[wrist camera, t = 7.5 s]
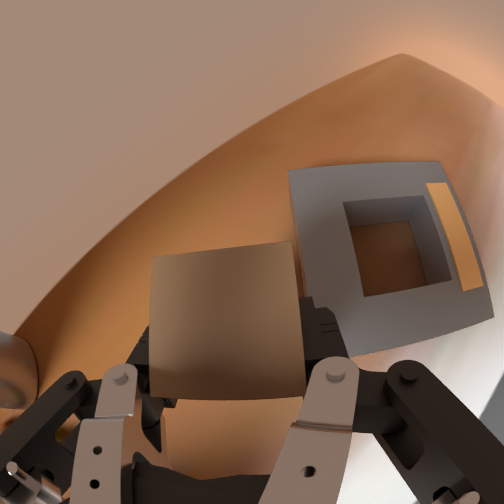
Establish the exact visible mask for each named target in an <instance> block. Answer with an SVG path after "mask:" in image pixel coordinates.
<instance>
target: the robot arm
mask: <svg viewBox="0 0 504 504" xmlns="http://www.w3.org/2000/svg"><path fill="white" fill-rule="evenodd" d="M298 300H299V309H300V319H301V329H302V339H303V350H304V362H305V374H306V388H307V391H306V394H305V396H303V404H302V407H301V410H300V413H299V416H298V419H297V421H296V422H293V423H292V424H291V426H290V428H289V431H288V433H287V436H286V438H285V441H284V444H283V446H282V449H281V451H280V454H279V457H278V459H277V462H276V464H275V466H274V469H273V471H272V474H271V475H236V476H230V477H223V478H216V479H208V480H197V479H194V478H192V477H189V476H186V475H183V474H181V473H178V472H176V471H173V470H172V468H171V465H170V463H169V461H168V457H167V446H166V430H165V418H164V416H163V414H162V411H163V409H164V407H166V408H175V406H176V403H177V400H178V399H174V398H161V397H151V396H150V379H149V326H148V327H147V328H146V329H145V331H144V333H143V334H142V336H141V338H140V339H139V341H138V342H139V343H137V344H136V346H135V348H134V349H133V351H132V353H131V355H130V356H129V358H128V360H127V361H126V363H125V364H119V365H116V366H114V367H112V368H110V369H109V370H108V371H107V372H106V373H105V374H104V376H103V379H99V380H91V381H88V380H87V378H86V377H85V375H84V374H83V373H82V372H80V371H70V372H67V373H65V374H64V375H63V376H61V377H60V378H59V379H58V380H57V381H56V382H55V383H54V384H53V385H52V386H51V387H49V388H48V389H47V390H46V391H45V392H44V393H43V394H42V395H41V396H40V397H39V398H38V399H37V400H36V401H35V399H36V395H37V389H38V375H37V367H36V362H35V358H34V355H33V352H32V350H31V348H30V346H29V344H28V343H27V342H26V341H25V340H24V339H22V338H20V337H16V336H13V335H10V334H7V333H4V332H0V408H7V409H24V410H25V411H24V412H23V413H22V414H21V415H20V416H19V417H18V418H17V419H16V420H15V421H14V422H13V423H12V424H11V425H10V426H9V427H8V428H7V429H6V430H5V431H4V432H3V433H2V434H1V435H0V497H1V498H2V499H3V501H4V502H5V504H336V502H337V499H338V495H339V491H340V488H341V484H342V480H343V476H344V471H345V467H346V462H347V458H348V453H349V448H350V443H351V437H352V432H358V433H373V435H374V437H375V438H376V440H377V441H378V443H379V444H380V445H381V447H382V448H383V450H384V451H385V453H386V454H387V456H388V457H389V459H390V460H391V462H392V463H393V464H394V466H395V467H396V469H397V470H398V472H399V473H400V475H401V476H402V478H403V479H404V481H405V482H406V483H407V485H408V486H409V488H410V489H411V491H412V492H413V494H414V495H415V497H416V498H417V499H418V501H419V502H420V504H504V446H503V445H502V444H501V442H500V441H499V440H498V439H497V438H496V437H495V436H494V435H493V434H492V433H491V432H490V431H489V430H488V429H487V428H486V427H485V425H483V424H482V422H481V421H480V420H479V419H478V418H477V417H476V416H475V415H474V414H473V413H472V412H471V411H470V410H469V409H468V408H467V407H466V406H465V405H464V404H463V403H462V402H461V401H460V400H459V399H458V398H457V397H456V396H455V395H454V394H453V393H452V392H451V391H450V390H449V389H448V388H447V387H446V386H445V385H444V384H443V383H442V382H441V381H440V380H439V379H438V378H437V377H436V376H435V375H434V374H433V373H432V372H431V371H430V370H429V369H428V368H426V367H425V366H424V365H423V364H421V363H419V362H417V361H413V360H402V361H399V362H396V363H395V364H393V365H392V366H391V367H390V368H389V369H388V371H387V372H371V371H366V370H362V369H360V368H358V366H357V365H356V364H355V363H354V362H353V361H352V360H350V358H349V356H348V352H347V349H346V346H345V343H344V340H343V337H342V334H341V332H340V329H339V326H338V324H337V320H336V317H335V314H334V313H333V312H332V311H331V310H329V309H328V308H327V307H322V308H315V306H314V302H313V298H312V296H309V297H300V298H298ZM73 413H74V414H75V415H76V417H77V418H78V419H79V420H80V421H81V422H80V423H79V424H78V425H77V426H76V427H75V428H74V430H73V431H72V432H71V433H70V434H69V435H68V436H67V437H66V438H65V439H64V440H63V441H62V442H57V441H56V439H55V432H56V431H57V429H58V428H59V427H60V426H61V425H62V424H63V423H64V422H65V421H66V420H67V419H68V418H69V417H70V416H71V415H72V414H73ZM70 486H71V492H70V498H68V499H66V500H65V499H64V498H63V497H62V496H63V494H64V493H65V492H66V491H67V490H68V488H69V487H70Z"/></svg>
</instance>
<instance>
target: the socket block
mask: <svg viewBox="0 0 504 504" xmlns="http://www.w3.org/2000/svg"><path fill="white" fill-rule="evenodd" d="M288 178H289V192H290V202H291V208H292V214H293V221H294V227H295V233H296V240H297V247H298V254H299V261H300V268H301V275H302V283H303V291H304V297H309V296H312V298H313V302H314V306H315V308H322V307H327V308H328V309H329V310H331V311H332V312H333V313H334V314H335V317H336V320H337V324H338V326H339V329H340V332H341V334H342V337H343V340H344V343H345V346H346V349H347V352H348V356H349V357H353V356H359V355H364V354H369V353H374V352H379V351H384V350H388V349H393V348H397V347H401V346H405V345H409V344H413V343H417V342H421V341H424V340H428V339H431V338H435V337H438V336H442V335H445V334H448V333H451V332H454V331H457V330H461V329H463V328H466V327H469V326H472V325H475V324H478V323H480V322H483V321H486V320H488V319H491V318H493V317H494V312H493V307H492V302H491V298H490V293H489V289H488V285H487V281H486V277H485V274H484V270H483V267H482V263H481V260H480V257H479V253H478V250H477V247H476V244H475V241H474V239H473V236H472V233H471V230H470V228H469V225H468V222H467V220H466V217H465V215H464V213H463V210H462V208H461V205H460V203H459V201H458V199H457V196H456V194H455V192H454V190H453V188H452V186H451V184H450V182H449V180H448V178H447V176H446V174H445V172H444V170H443V168H442V166H441V164H440V162H436V161H421V162H382V163H363V164H348V165H335V166H323V167H313V168H303V169H294V170H288ZM399 221H409V224H410V227H411V230H412V233H413V236H414V240H415V243H416V246H417V249H418V253H419V256H420V260H421V264H422V267H423V271H424V275H425V279H426V283H427V286H423V287H418V288H413V289H408V290H402V291H397V292H392V293H386V294H380V295H374V296H368V297H364V294H363V289H362V283H361V278H360V273H359V268H358V264H357V259H356V254H355V250H354V246H353V241H352V237H351V233H350V229H349V227H354V226H363V225H372V224H381V223H390V222H399Z"/></svg>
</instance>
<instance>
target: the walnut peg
mask: <svg viewBox="0 0 504 504" xmlns="http://www.w3.org/2000/svg"><path fill="white" fill-rule="evenodd" d="M149 379H150V396H151V397H161V398H174V399H191V400H258V399H275V398H288V397H298V396H305V394H306V391H307V388H306V374H305V362H304V350H303V339H302V329H301V319H300V309H299V300H298V291H297V283H296V274H295V266H294V258H293V250H292V243H291V241H286V242H277V243H268V244H259V245H251V246H242V247H233V248H225V249H216V250H208V251H199V252H191V253H183V254H174V255H166V256H158V257H153V265H152V278H151V294H150V318H149Z"/></svg>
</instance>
